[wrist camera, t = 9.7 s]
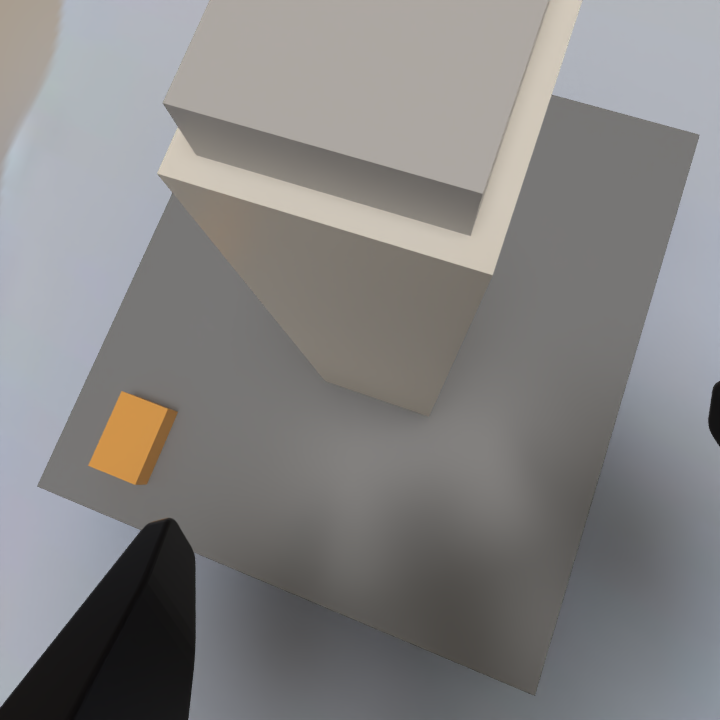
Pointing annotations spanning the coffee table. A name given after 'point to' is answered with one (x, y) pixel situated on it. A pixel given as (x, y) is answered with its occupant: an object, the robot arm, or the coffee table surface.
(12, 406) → the coffee table surface
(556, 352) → the socket board
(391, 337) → the plug
